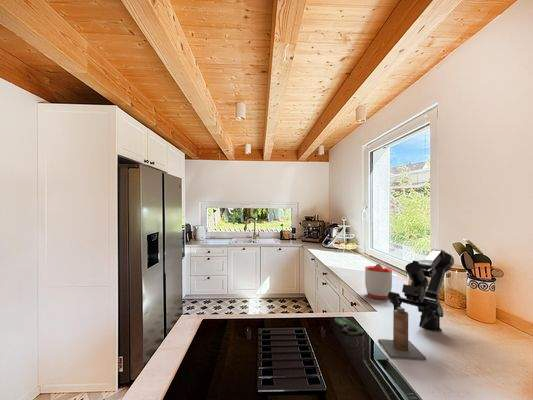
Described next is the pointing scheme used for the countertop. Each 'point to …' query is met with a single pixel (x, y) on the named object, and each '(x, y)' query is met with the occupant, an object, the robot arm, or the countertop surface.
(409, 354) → the trivet mat
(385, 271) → the citrus juicer
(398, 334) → the pepper mill
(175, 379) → the countertop surface
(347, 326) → the gun
